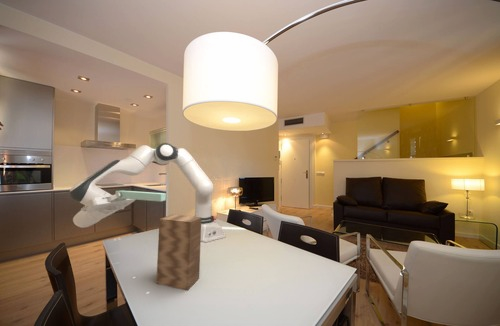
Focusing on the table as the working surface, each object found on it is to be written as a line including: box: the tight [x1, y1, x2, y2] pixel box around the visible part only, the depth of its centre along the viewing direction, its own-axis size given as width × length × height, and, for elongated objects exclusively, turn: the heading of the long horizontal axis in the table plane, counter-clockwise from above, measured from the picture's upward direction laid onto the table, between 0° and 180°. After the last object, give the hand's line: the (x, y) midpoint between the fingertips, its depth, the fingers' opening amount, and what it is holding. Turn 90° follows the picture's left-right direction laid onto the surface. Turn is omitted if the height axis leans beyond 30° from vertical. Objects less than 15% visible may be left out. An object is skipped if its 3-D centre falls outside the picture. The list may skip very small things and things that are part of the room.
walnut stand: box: [155, 214, 202, 291], centre depth 75 cm, size 14×8×25 cm, turn 75°
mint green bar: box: [114, 190, 167, 202], centre depth 81 cm, size 24×3×3 cm, turn 75°
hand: (125, 193), depth 84 cm, fingers closed on mint green bar, 3 cm apart
